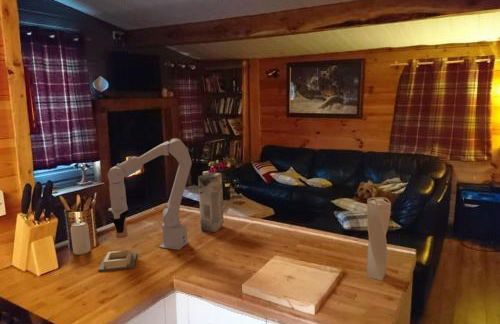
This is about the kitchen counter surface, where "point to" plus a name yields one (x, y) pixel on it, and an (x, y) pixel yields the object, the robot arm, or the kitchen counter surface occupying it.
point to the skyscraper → (377, 237)
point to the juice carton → (210, 201)
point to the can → (80, 238)
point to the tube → (124, 234)
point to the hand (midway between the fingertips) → (121, 230)
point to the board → (118, 260)
